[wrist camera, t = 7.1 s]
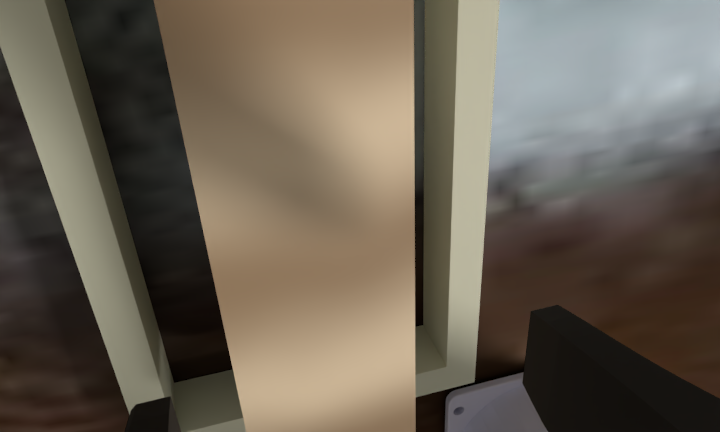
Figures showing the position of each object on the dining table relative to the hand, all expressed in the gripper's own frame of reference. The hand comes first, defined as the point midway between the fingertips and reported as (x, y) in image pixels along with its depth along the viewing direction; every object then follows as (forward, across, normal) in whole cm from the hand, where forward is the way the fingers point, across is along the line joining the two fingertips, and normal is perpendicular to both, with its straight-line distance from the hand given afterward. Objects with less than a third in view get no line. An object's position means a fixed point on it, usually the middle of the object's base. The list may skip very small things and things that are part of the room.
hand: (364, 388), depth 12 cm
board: (+8, 0, 0) cm, 8 cm away
